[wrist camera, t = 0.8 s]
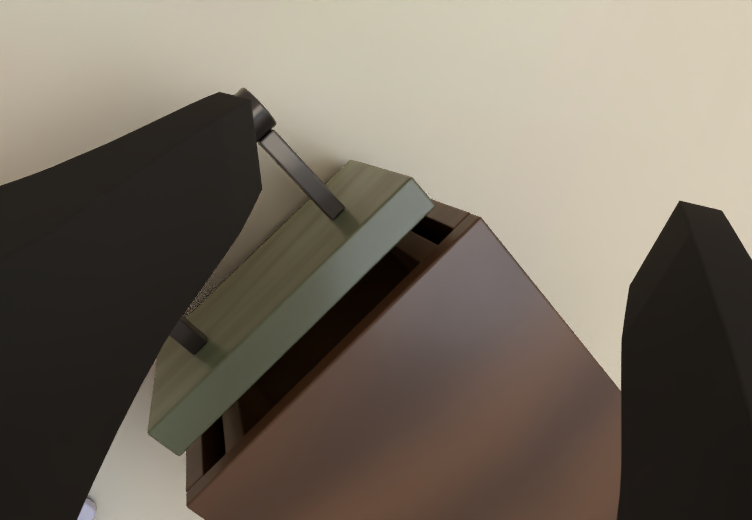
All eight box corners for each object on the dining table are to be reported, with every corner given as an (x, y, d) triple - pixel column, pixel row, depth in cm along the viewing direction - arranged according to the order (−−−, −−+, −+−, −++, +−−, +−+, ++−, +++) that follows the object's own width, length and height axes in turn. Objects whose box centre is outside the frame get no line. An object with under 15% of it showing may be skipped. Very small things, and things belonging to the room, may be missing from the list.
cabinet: (186, 377, 24) (184, 507, 16) (387, 183, 24) (481, 215, 16) (405, 551, 29) (484, 713, 21) (565, 389, 30) (699, 487, 22)
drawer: (53, 260, 20) (-6, 324, 14) (265, 61, 21) (298, 39, 15) (380, 523, 27) (437, 645, 21) (534, 368, 28) (634, 442, 21)
